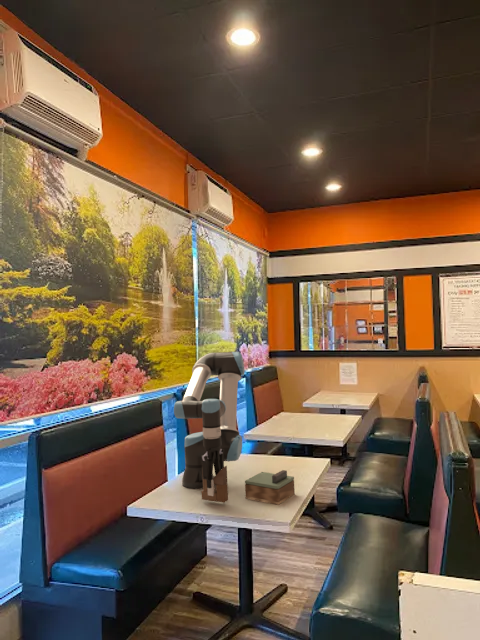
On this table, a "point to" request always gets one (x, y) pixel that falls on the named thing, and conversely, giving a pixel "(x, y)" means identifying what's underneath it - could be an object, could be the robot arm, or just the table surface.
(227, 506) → the table surface
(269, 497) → the wooden box
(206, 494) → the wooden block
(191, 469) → the robot arm
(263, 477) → the lid
